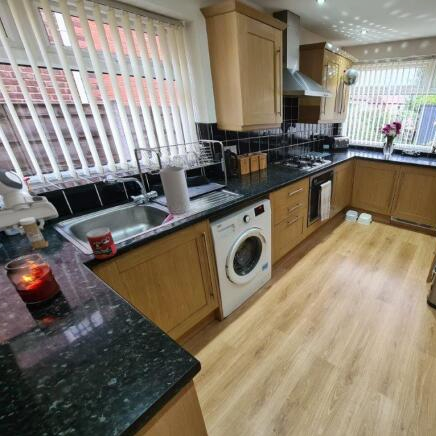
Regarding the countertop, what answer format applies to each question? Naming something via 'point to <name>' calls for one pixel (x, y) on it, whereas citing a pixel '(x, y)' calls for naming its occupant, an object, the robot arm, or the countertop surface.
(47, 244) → the cork coaster
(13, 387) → the countertop surface
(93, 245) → the canned food
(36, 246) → the sprinkles bottle
